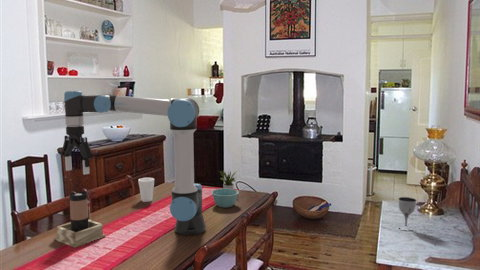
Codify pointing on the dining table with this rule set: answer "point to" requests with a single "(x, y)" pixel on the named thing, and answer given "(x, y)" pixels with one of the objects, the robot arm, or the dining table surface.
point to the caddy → (79, 234)
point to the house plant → (228, 180)
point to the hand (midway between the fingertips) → (77, 172)
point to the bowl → (225, 197)
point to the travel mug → (78, 211)
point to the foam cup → (146, 189)
